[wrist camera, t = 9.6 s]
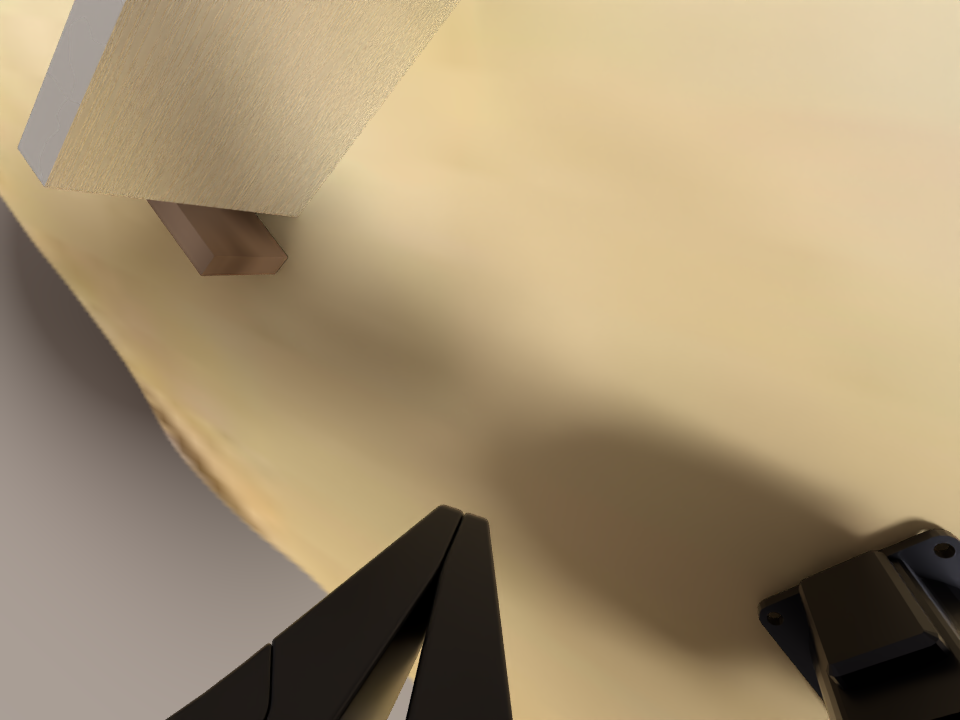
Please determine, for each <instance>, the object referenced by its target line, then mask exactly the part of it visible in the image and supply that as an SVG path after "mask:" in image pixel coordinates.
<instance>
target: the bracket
mask: <svg viewBox="0 0 960 720" xmlns="http://www.w3.org/2000/svg"><path fill="white" fill-rule="evenodd" d="M459 1H460V0H75V1H74V4H73V6H72V9H71V12H70V14H69V17H68V19H67V22H66V24H65V27H64V30H63V32H62V35H61V37H60V40H59V42H58V45H57V48H56V50H55V53H54V55H53V58H52V60H51V63H50V66H49V68H48V71H47V73H46V76H45V78H44V81H43V84H42V86H41V89H40V91H39V94H38V96H37V99H36V102H35V104H34V107H33V109H32V112H31V114H30V117H29V120H28V122H27V125H26V127H25V130H24V132H23V135H22V138H21V140H20V143H19V145H18V150H19V151H20V153H21V154H22V155H23V157H24V158H25V160H26V161H27V163H28V164H29V166H30V167H31V169H32V170H33V171H34V173H35V174H36V176H37V177H38V179H39V180H40V182H41V183H42V184H43V186H44V187H48V188H56V189H65V190H73V191H82V192H90V193H98V194H107V195H115V196H124V197H132V198H140V199H149V200H157V201H165V202H174V203H182V204H191V205H199V206H207V207H216V208H224V209H232V210H241V211H249V212H258V213H266V214H274V215H283V216H291V217H298V216H299V215H300V213H301V212H302V211H303V209H304V208H305V207H306V205H307V204H308V203H309V201H310V200H311V199H312V197H313V196H314V195H315V193H316V192H317V191H318V189H319V188H320V187H321V185H322V184H323V183H324V181H325V180H326V179H327V177H328V176H329V175H330V173H331V172H332V171H333V169H334V168H335V167H336V165H337V164H338V163H339V161H340V160H341V159H342V157H343V156H344V155H345V153H346V152H347V151H348V149H349V148H350V147H351V145H352V144H353V143H354V141H355V140H356V139H357V137H358V136H359V135H360V133H361V132H362V131H363V129H364V128H365V127H366V125H367V124H368V123H369V121H370V120H371V119H372V117H373V116H374V115H375V113H376V112H377V111H378V109H379V108H380V107H381V105H382V104H383V103H384V101H385V100H386V99H387V97H388V96H389V95H390V93H391V92H392V91H393V89H394V88H395V87H396V85H397V84H398V83H399V81H400V80H401V79H402V77H403V76H404V75H405V73H406V72H407V71H408V69H409V68H410V67H411V65H412V64H413V63H414V61H415V60H416V59H417V57H418V56H419V55H420V53H421V52H422V51H423V49H424V48H425V47H426V45H427V44H428V43H429V41H430V40H431V39H432V37H433V36H434V35H435V33H436V32H437V31H438V29H439V28H440V27H441V25H442V24H443V23H444V21H445V20H446V19H447V17H448V16H449V15H450V13H451V12H452V11H453V9H454V8H455V7H456V5H457V4H458V3H459Z"/></svg>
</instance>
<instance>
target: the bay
mask: <svg viewBox="0 0 960 720" xmlns="http://www.w3.org/2000/svg"><path fill="white" fill-rule="evenodd" d="M146 200H147V201H148V203H149V204H150V205H151V207H152V208H153V210H154V211H155V212H156V214H157V215H158V217H159V218H160V219H161V221H162V222H163V224H164V225H165V226H166V228H167V229H168V230H169V232H170V233H171V235H172V236H173V237H174V239H175V240H176V242H177V243H178V244H179V246H180V247H181V249H182V250H183V251H184V253H185V254H186V255H187V257H188V258H189V260H190V261H191V262H192V264H193V265H194V267H195V268H196V269H197V271H198V272H199V274H200V275H201V276H213V275H254V274H275V273H276V272H277V271H278V269H279V268H280V267H281V265H282V264H283V263H284V262H285V260H286V259H287V258H288V257H287V256H286V254H285V253H284V252H283V250H282V249H281V248H280V246H279V245H278V244H277V242H276V241H275V240H274V238H273V237H272V236H271V234H270V233H269V232H268V230H267V229H266V228H265V226H264V225H263V224H262V222H261V221H260V220H259V218H258V217H257V216H256V214H255V213H254V212H249V211H241V210H232V209H224V208H216V207H207V206H199V205H191V204H182V203H174V202H165V201H157V200H149V199H146Z"/></svg>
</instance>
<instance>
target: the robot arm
mask: <svg viewBox="0 0 960 720" xmlns="http://www.w3.org/2000/svg"><path fill="white" fill-rule="evenodd" d="M940 543H947V544H949V547H948V549H946V550H945V551H940V552H938V551H934V547H935V546H936V545H937V544H940ZM771 612H776V613H779V614H780V615H781V616H780V617H778V618H772V617H769V616H768V614H769V613H771ZM758 615H759V620H760V621H761V623H762V625H763V626H764V627H765V629H766V630H767V631H768V632H769V634H770V635H771V636H772V637H773V639H774V640H775V641H776V642H777V644H778V645H779V646H780V647H781V649H782V650H783V651H784V652H785V653H786V655H787V656H788V657H789V658H790V660H791V661H792V662H793V663H794V665H795V666H796V667H797V668H798V670H799V671H800V672H801V673H802V675H803V676H804V677H805V678H806V680H807V681H808V682H809V683H810V685H811V686H812V687H813V688H814V690H815V691H816V692H817V693H818V695H819V696H820V697H821V698H822V700H823V701H824V702H825V706H826V709H827V712H828V715H829V719H830V720H960V540H959V539H958V538H957V537H956V536H954V535H953V534H952V533H951V532H948V531H945V530H943V529H932V530H928V531H925V532H923V533H921V534H918V535H916V536H914V537H911V538H909V539H906V540H904V541H902V542H899V543H897V544H895V545H892V546H890V547H888V548H885V549H883V550H880V551H878V552H876V551H869V552H867V553H864V554H862V555H860V556H857V557H855V558H853V559H850V560H848V561H846V562H843V563H841V564H839V565H836V566H834V567H832V568H829V569H827V570H825V571H822V572H820V573H818V574H815V575H813V576H810V577H808V578H806V579H803V580H802V581H801V582H800V585H798V586H795V587H793V588H791V589H788V590H786V591H784V592H781V593H779V594H777V595H774V596H772V597H770V598H767V599H765V600H763V601H762V602H760V603H759V605H758ZM422 644H423V646H422ZM421 647H422V650H421V655H420V659H419V663H418V668H417V672H416V677H415V681H414V685H413V690H412V694H411V699H410V703H409V708H408V712H407V716H406V720H513V718H512V710H511V701H510V693H509V685H508V677H507V669H506V660H505V652H504V644H503V636H502V627H501V619H500V611H499V603H498V594H497V586H496V578H495V570H494V561H493V553H492V545H491V537H490V528H489V523H488V520H487V519H485V518H482V517H479V516H477V515H474V514H471V513H466V514H465V515H464V514H463V512H462V511H461V510H459V509H456V508H453V507H450V506H447V505H440V506H438V507H437V508H436V509H434V510H433V511H432V512H431V513H429V514H428V515H427V516H426V517H424V518H423V519H422V520H421V521H419V522H418V523H417V524H416V525H415V526H413V527H412V528H411V529H410V530H408V531H407V532H406V533H405V534H403V535H402V536H401V537H400V538H398V539H397V540H396V541H395V542H393V543H392V544H391V545H390V546H388V547H387V548H386V549H385V550H383V551H382V552H381V553H380V554H378V555H377V556H376V557H375V558H373V559H372V560H371V561H370V562H369V563H367V564H366V565H365V566H364V567H362V568H361V569H360V570H359V571H357V572H356V573H355V574H354V575H352V576H351V577H350V578H349V579H347V580H346V581H345V582H344V583H342V584H341V585H340V586H339V587H337V588H336V589H335V590H334V591H332V592H331V593H330V594H329V595H327V596H326V597H325V598H324V599H323V600H321V601H320V602H319V603H318V604H316V605H315V606H314V607H313V608H311V609H310V610H309V611H308V612H307V613H305V614H304V615H303V616H301V617H300V618H299V619H298V620H296V621H295V622H294V623H293V624H291V625H290V626H289V627H288V628H286V629H285V630H284V631H283V632H281V633H280V634H279V635H278V636H276V637H275V638H274V639H273V641H272V645H271V644H270V643H268V644H266V645H265V646H264V647H262V648H261V649H260V650H259V651H257V652H256V653H255V654H254V655H253V656H251V657H250V658H249V659H248V660H246V661H245V662H244V663H243V664H241V665H240V666H239V667H237V668H236V669H235V670H233V671H232V672H231V673H230V674H228V675H227V676H226V677H224V678H223V679H222V680H220V681H219V682H218V683H216V684H215V685H214V686H212V687H211V688H210V689H209V690H207V691H206V692H205V693H203V694H202V695H200V696H199V697H198V698H196V699H195V700H193V701H192V702H190V703H189V704H187V705H186V706H185V707H183V708H182V709H180V710H179V711H177V712H176V713H174V714H173V715H172V716H170V717H169V718H167V719H166V720H387V718H388V716H389V714H390V712H391V710H392V708H393V706H394V704H395V701H396V700H397V698H398V695H399V693H400V691H401V689H402V687H403V685H404V683H405V681H406V679H407V677H408V675H409V673H410V670H411V668H412V666H413V664H414V662H415V660H416V658H417V656H418V653H419V651H420V649H421Z"/></svg>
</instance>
